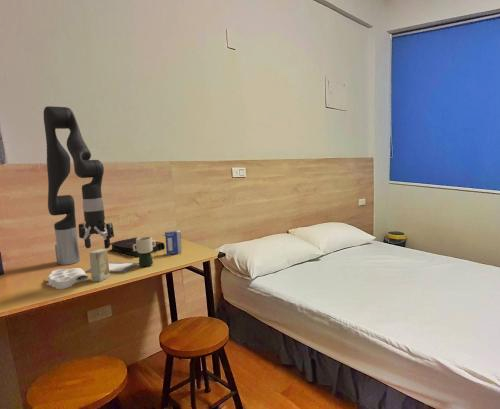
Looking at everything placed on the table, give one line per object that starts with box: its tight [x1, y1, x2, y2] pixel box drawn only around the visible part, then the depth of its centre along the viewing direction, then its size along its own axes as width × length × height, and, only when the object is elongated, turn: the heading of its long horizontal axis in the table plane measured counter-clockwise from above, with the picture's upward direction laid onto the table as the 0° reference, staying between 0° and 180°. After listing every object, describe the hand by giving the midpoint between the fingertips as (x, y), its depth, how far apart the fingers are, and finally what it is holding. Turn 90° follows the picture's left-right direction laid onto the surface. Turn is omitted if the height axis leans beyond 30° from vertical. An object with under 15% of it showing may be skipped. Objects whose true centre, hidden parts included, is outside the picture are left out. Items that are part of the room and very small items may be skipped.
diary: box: [109, 236, 166, 259], centre depth 178 cm, size 19×25×5 cm
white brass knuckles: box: [44, 267, 89, 290], centre depth 135 cm, size 3×18×15 cm
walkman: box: [164, 230, 183, 256], centre depth 168 cm, size 8×3×12 cm, turn 103°
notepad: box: [85, 261, 139, 274], centre depth 150 cm, size 19×13×1 cm
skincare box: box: [89, 248, 111, 283], centre depth 135 cm, size 6×4×12 cm
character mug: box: [133, 236, 157, 267], centre depth 151 cm, size 11×7×13 cm, turn 130°
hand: (97, 248), depth 134 cm, fingers open, 8 cm apart
